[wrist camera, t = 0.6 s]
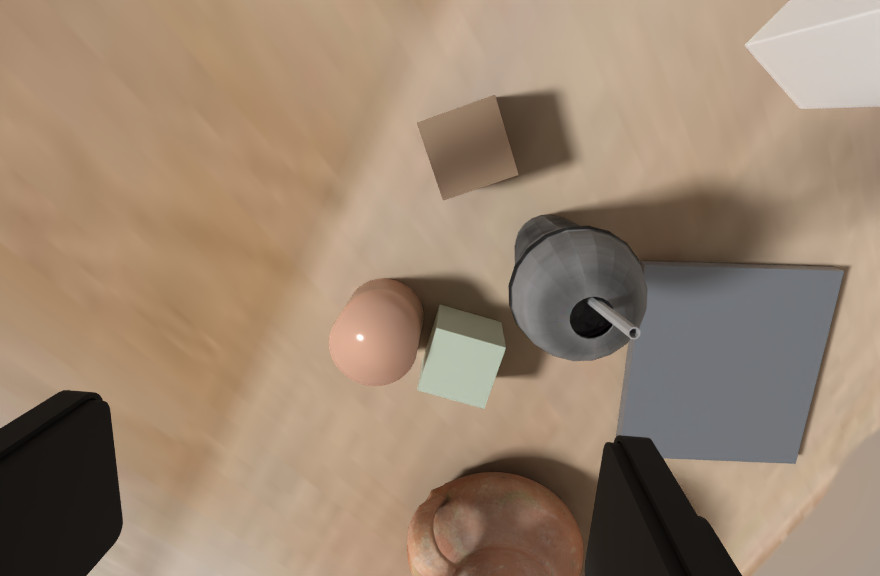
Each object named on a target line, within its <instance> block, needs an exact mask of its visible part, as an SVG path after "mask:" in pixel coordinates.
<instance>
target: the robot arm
mask: <svg viewBox="0 0 880 576" xmlns="http://www.w3.org/2000/svg"><path fill="white" fill-rule="evenodd" d="M122 525H123V519H122V510H121V501H120V492H119V483H118V475H117V466H116V457H115V448H114V440H113V431H112V422H111V413H110V407H109V405H108V403H107V402H105V401H103V400H102V398H101V396H100V395H99V394H97V393H94V392H82V391H70V390H63V391H61V392H59V393H57V394H55V395H54V396H52V397H50V398H49V399H47V400H46V401H44V402H42V403H41V404H39V405H38V406H36V407H34V408H33V409H31V410H29V411H28V412H26V413H25V414H23V415H21V416H20V417H18V418H17V419H15V420H13V421H12V422H10V423H8V424H7V425H5V426H4V427H2V428H0V576H86V575H87V574H88V573H89V572H90V571H91V570H92V569H93V567H94V566H95V565H96V564H97V563H98V562H99V561H100V559H101V558H102V557H103V556H104V555H105V554H106V553H107V551H108V550H109V549H110V548H111V547H112V546H113V545H114V543H115V542H116V541H117V539H118V537H119V535H120V533H121V530H122ZM585 576H742V575H741V573H740V572H739V570H738V568H737V567H736V565H735V564H734V562H733V560H732V559H731V557H730V556H729V554H728V552H727V551H726V549H725V548H724V546H723V544H722V543H721V541H720V540H719V538H718V536H717V535H716V533H715V532H714V530H713V528H712V527H711V525H710V524H709V523H708V522H707V520H706V519H705V518H702V517H700V516H697V514H696V512H695V511H694V509H693V507H692V506H691V504H690V502H689V501H688V499H687V497H686V496H685V494H684V492H683V491H682V489H681V487H680V486H679V484H678V482H677V481H676V479H675V477H674V476H673V474H672V472H671V471H670V469H669V468H668V466H667V464H666V463H665V461H664V459H663V458H662V456H661V454H660V453H659V451H658V449H657V448H656V446H655V444H654V443H653V441H652V440H651V439H650V438H647V437H635V436H623V435H618V436H617V437H616V438H615V440H614V443H611V442H607V443H605V446H604V449H603V455H602V461H601V467H600V473H599V480H598V486H597V492H596V498H595V504H594V511H593V517H592V523H591V529H590V535H589V542H588V548H587V554H586V560H585Z"/></svg>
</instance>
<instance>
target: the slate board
mask: <svg viewBox="0 0 880 576" xmlns="http://www.w3.org/2000/svg"><path fill="white" fill-rule="evenodd" d="M640 266H641V268H642V272H643V275H644V278H645V282H646V285H647V289H648V291H647V309H646V313H645V315H644V318H643V320H642V323H641V325H640V327H639V330H640V331H641V332H640V336H639V337H638V338H637V339H630V340H629V344H628V352H627V359H626V367H625V374H624V382H623V389H622V397H621V404H620V412H619V419H618V426H617V434H616V437H617V436H618V435H623V436H635V437H647V438H650V439H651V440H652V441H653V443H654V444H655V446H656V448H657V449H658V451H659V453H660V454H661V456H662V458H672V459H695V460H719V461H743V462H767V463H790V464H796V460H797V456H798V452H799V448H800V444H801V440H802V436H803V432H804V428H805V424H806V420H807V417H808V413H809V409H810V405H811V401H812V397H813V393H814V389H815V385H816V381H817V377H818V373H819V369H820V365H821V361H822V357H823V353H824V349H825V345H826V341H827V337H828V333H829V329H830V325H831V321H832V317H833V313H834V309H835V305H836V302H837V298H838V294H839V290H840V286H841V282H842V278H843V274H844V271H843V270H841V269H838V268H836V267H833V266H800V265H766V264H732V263H698V262H664V261H640Z"/></svg>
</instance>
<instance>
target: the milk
mask: <svg viewBox="0 0 880 576" xmlns="http://www.w3.org/2000/svg"><path fill="white" fill-rule="evenodd" d="M745 47H746V48H747V49H748V50H749V52H750V53H751V54H752V55H753V56H754V57H755V58H756V60H757V61H758V62H759V63H760V64H761V65H762V66H763V68H764V69H765V70H766V71H767V72H768V73H769V74H770V76H771V77H772V78H773V79H774V80H775V81H776V82H777V84H778V85H779V86H780V87H781V88H782V89H783V90H784V91H785V93H786V94H787V95H788V96H789V97H790V98H791V99H792V101H793V102H794V103H795V104H796V105H797V106H798V107H799V108H800V109H820V108H856V107H880V0H789V1H788V2H787V3H786V4H785V5H784V6H783V7H782V8H781V9H780V10H779V11H778V12H777V13H776V14H775V15H774V16H773V17H772V18H771V19H770V20H769V21H768V22H767V23H766V24H765V25H764V26H763V27H762V28H761V29H760V30H759V31H758V32H757V33H756V34H755V35H754V36H753V37H752V38H751V39H750V40H749V41H748V42H747V43H746V44H745Z"/></svg>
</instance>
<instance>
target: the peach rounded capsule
mask: <svg viewBox="0 0 880 576" xmlns="http://www.w3.org/2000/svg"><path fill="white" fill-rule="evenodd" d="M423 318H424V315H423V308H422V305H421V302H420V300H419V298H418V297H417V295H416V294H415V293H414V291H413V290H412V289H410V288H409V287H408V286H406V285H405V284H403V283H401V282H399V281H396V280H392V279H375V280H372V281H369V282H367V283H365V284H363V285H361V286H360V287H359V288H358V289H357V290H356V291H355V292H354V294H353V295H352V297H351V298H350V300H349V301H348V303H347V304H346V306H345V308H344V309H343V311H342V312H341V314H340V315H339V317H338V319H337V320H336V322H335V323H334V325H333V327H332V330H331V333H330V337H329V348H330V353H331V356H332V359H333V361H334V363H335V364H336V366H337V367H338V368H339V370H340V371H341V372H342V373H343V374H345V375H346V376H347V377H348V378H350V379H352V380H354V381H356V382H358V383H361V384H364V385H370V386H381V385H387V384H390V383H393V382H395V381H397V380H399V379H400V378H402V377H403V376H404V375H405V374H406V373H407V372H408V371H409V370H410V369H411V367H412V365H413V363H414V361H415V358H416V354H417V349H418V345H419V340H420V335H421V330H422V325H423Z"/></svg>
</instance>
